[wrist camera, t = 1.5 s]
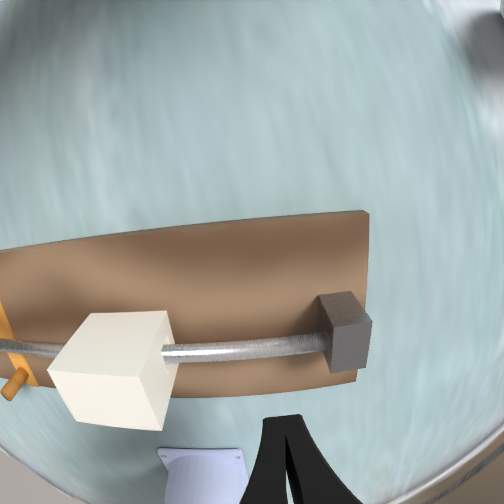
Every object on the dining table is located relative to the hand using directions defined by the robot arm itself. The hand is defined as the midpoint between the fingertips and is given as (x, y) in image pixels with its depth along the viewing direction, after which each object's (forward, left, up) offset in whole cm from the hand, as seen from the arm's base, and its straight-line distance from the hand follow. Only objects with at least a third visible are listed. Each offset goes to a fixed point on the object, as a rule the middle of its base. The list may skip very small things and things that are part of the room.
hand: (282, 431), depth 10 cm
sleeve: (0, +8, -7) cm, 11 cm away
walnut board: (0, +11, -9) cm, 14 cm away
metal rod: (0, +9, -9) cm, 13 cm away
